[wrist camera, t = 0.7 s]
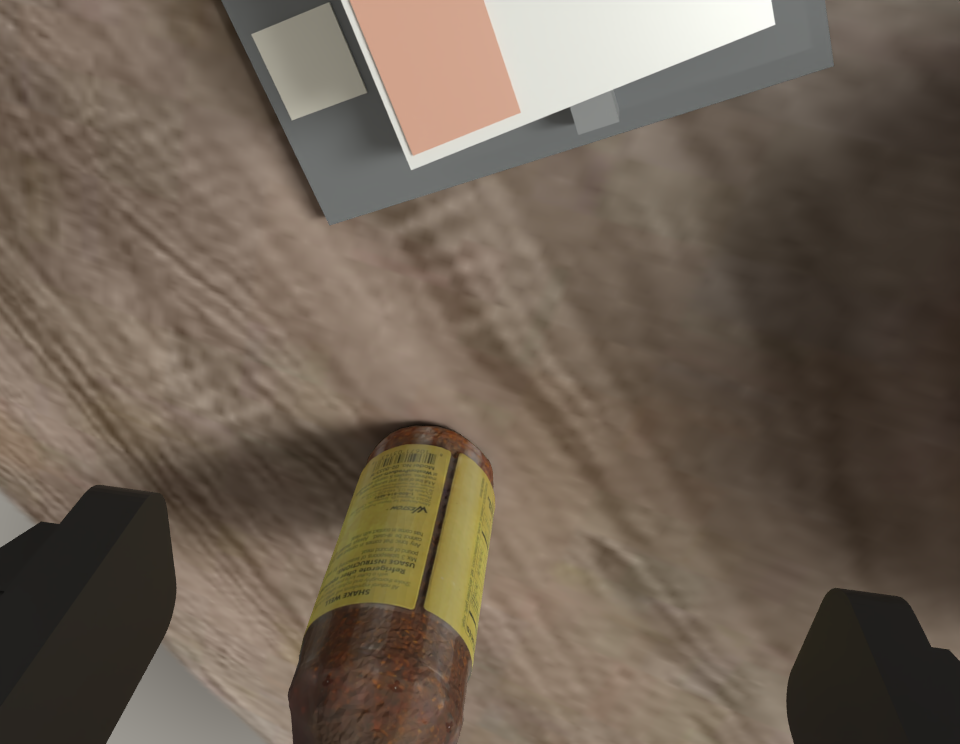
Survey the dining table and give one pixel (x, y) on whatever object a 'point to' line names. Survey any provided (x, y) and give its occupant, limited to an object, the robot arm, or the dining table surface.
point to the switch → (524, 57)
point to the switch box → (389, 180)
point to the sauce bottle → (399, 598)
